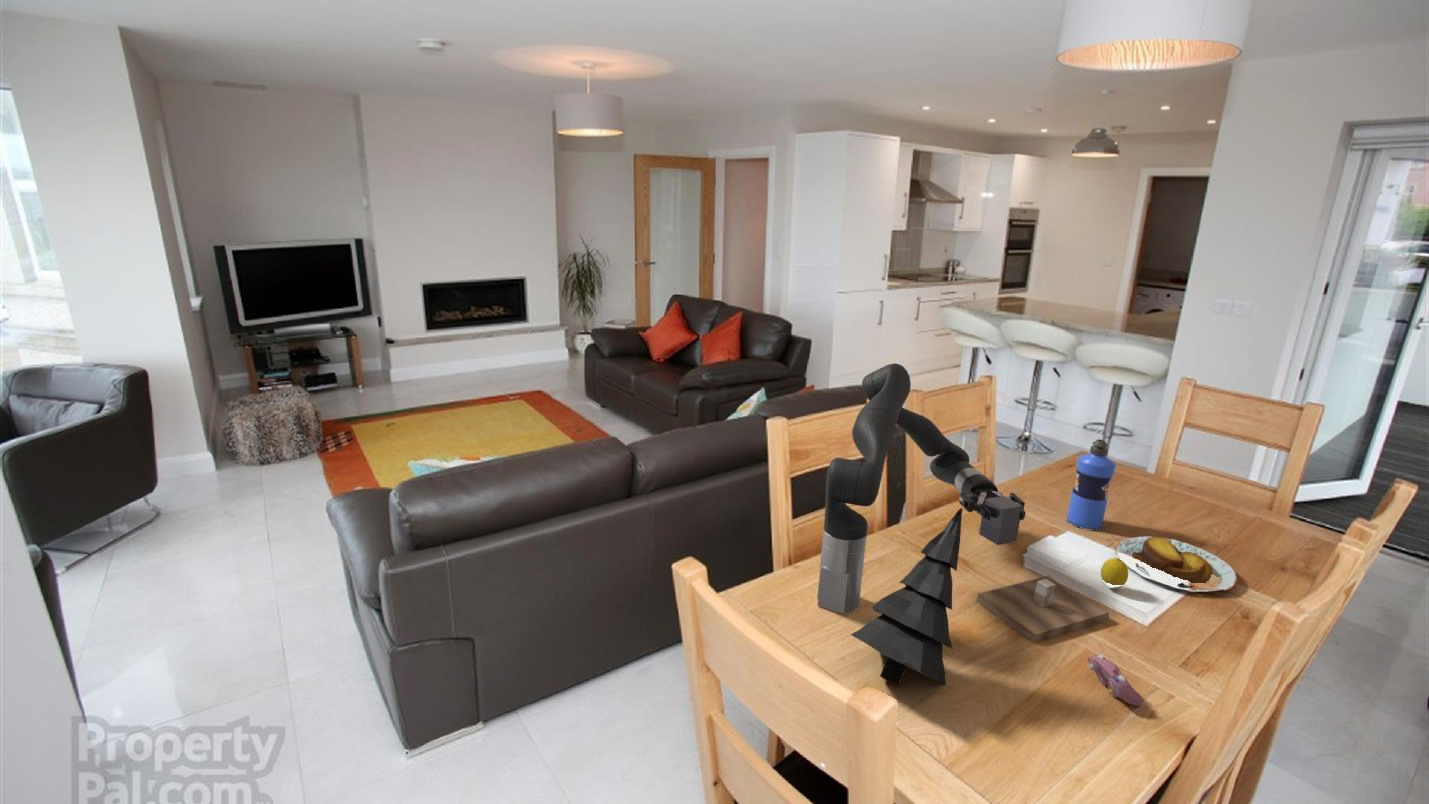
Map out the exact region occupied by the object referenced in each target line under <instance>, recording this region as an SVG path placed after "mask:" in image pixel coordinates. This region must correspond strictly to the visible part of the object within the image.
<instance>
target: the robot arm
mask: <svg viewBox="0 0 1429 804" xmlns="http://www.w3.org/2000/svg"><path fill="white" fill-rule="evenodd" d="M911 384H912V382H911V377H910V375H909V372H908V370H907V369H906V368H905V366H903V365H902V364H899V363H890V364H886V365H884V366H881V368H878V369H876V370H874V371H873V372H870V373H869V374H866V375H865V376H864V377H863V378H862V381H861V386H862V387H861V388H862V390H863V391H862V392H863V393H864V395H865V397H866V398H867V400H868V402H867V403H866V404H865V405H864V406H863V407H862V408H861V410H860V411H859V412H858V414H857V416H856V419H855V422H854V424H853V427H852V431H851V436H852V441H853V443H854V445H855V447H856V449H857V450H858V451H859V453H860V454H861V456H862V457H863V459H864V460H865V461H862V460H855V459H849V458H842V457H836V458H833V459H832V460H831V462H830V463H829V465H828V468H827V474H826V478H825V479H826V482H825V504H824V505H825V507H824V521H823V531H822V541H821V543H822V544H821V554H820V564H819V573H818V574H819V577H818V586H817V595H816V596H817V597H816V598H817V606H818V607H821V608H824V609H826V610H829V611H831V612H832V611H833V612H835V613H838V614H840V615H845V614H846V613H848V612H852V611H855V610H857V608H858V607H859V606H860V600H861V593H862V592H861V590H862V581H863V573H864V563H865V555H866V547H867V545H866V544H867V536H868V527H869V526H868V525H869V523H868V520H867V518H865V516H863V515H862V514H861V513H859V512H857V511H855V510H854V509H852V508H851V507H849V506H848V505H853V506H857V507H871V506H872V505H873V504H874V503H875V501H876V499H877V498H878V495H879V491H880V487H881V482H882V478H883V472H884V467H885V462H886V458H887V454H888V452H889V450H890V446H891V443H892V441H893V438H894V435H895V431H896V426H898V427H899V428H900V429H901V430H903V432H905V433H906V434H907V435H908V436H909V437H910V439H911V440H912V441H913V442H914V443H915V444H916V446H917V447H918V448H919V449H920V450H921V451H922V453H924V455H926V456H927V457H931V458H933V457H935V458H934V459H932V460H931V462H930V463H929V469H930V472H931V473H932V475H933V476H934V477H935V478H936V479H937V480H940V481H941V482H943V483H946V484H949V485H953V486H954V488H956V490H957V491H958V493H959V500H958V503H959V504H960V506H962V507H963V508H964V510H965V511H967V512H968V513H973V511H974V512H975V513H976V514H979V515H980V516H981V518H982V517H984V518H985V519H986V520H990V518H991V511H990V510H989V509H988V508H987V507H986V506H985V505H984V500H985V499H988V498H994V497H1000V496H1005V497H1007V498H1008V499H1010V500H1012V501H1014V502H1016V503H1018V504H1020V505H1022V506H1023V508H1022V512H1021V517H1020V521H1024V520H1025V517H1026V510H1025V505H1026V502H1025V501H1024V500H1023V499H1021V498H1020V497H1019V496H1018V495H1017V494H1016V493H1014V492H1010V493H1009V495H1004V494H1003V493H1001V492H999V490H998V487H997V486H996V484H995V483H994V482H993V481H992V480H991V479H989V478H988V477H987V476H986V475H985V474H983V473H982V472H981V471H979V470H978V469H976V468H975V467H974V466H972V464H970V456H969V454H968V452H967V451H965V450H964V449H963V448H961V447H960V446H959V445H957V444H955V443H954V442H952V441H951V440H949V439H948V438H947V437H946V436H945V434H943V432H941V430H940V429H939V428H938V426H937V425H936V424H935V423H934V422H933V421H932V420H930V418H928V417H926V416H924V415H921V414H919V413H916V412H914V411H912V410H910V409H907V408H904V407H903V406H904V404H905V403H906V401H907V399H908V396H909V395H910V392H911V387H912V386H911ZM847 504H848V505H847Z"/></svg>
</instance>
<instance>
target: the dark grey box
mask: <svg viewBox="0 0 1429 804" xmlns="http://www.w3.org/2000/svg"><path fill="white" fill-rule="evenodd" d="M1005 496H1006V495H1004V496H1000V497H994V498H988V499H985V500H984V505H985V506H986V507H987V508H988V509H989V510H990V511H991V518H990V520H986V519H985V518H984V517H982V516H981V520H980V525H979V526H980V527H979V532H978V535H980V536H981V537H983V538H984V539H986V540H988V541H990V542H992V543H993V544H995V545H997V546H1000V545H1006V544H1009V543H1014V542H1017V539H1018V536H1019V535H1018V534H1019V529H1020V522H1021V520H1020V517H1021V512H1022V508H1023V506H1022V505H1020V504H1018V503H1016V502H1014V501H1012V500H1010V499H1008V498H1007V497H1005Z"/></svg>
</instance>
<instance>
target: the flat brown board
mask: <svg viewBox="0 0 1429 804" xmlns="http://www.w3.org/2000/svg"><path fill="white" fill-rule="evenodd" d="M975 601H976V603H978V604H979V605H980V606H982V607H983V608H985V609H986V610H987V611H989V612H990V613H992V614H993V615H994V616H996V617H997V618H998V619H1000V620H1001V621H1003V623H1006V624H1007V625H1008V626H1010V627H1011V628H1013V629H1014V630H1015V631H1017V632H1018V633H1020V634H1021V635H1022V636H1024V637H1025V638H1027V639H1028V640H1029V641H1031V642H1032V643H1033V644H1035V643H1039V642H1042V641H1045V640H1048V639H1051V638H1052V639H1053V638H1055V637H1059V636H1062V635H1065V634H1067V633H1071V632H1075V631H1077V630H1081V629H1083V628H1087V627H1091V626H1094V625H1097V624H1101V623H1103V622H1107V621H1108V620H1109V615H1110V612H1109V611H1108V610H1106V609H1104V608H1103V607H1101V606H1099V605H1098V604H1096V603H1095V602H1093V601H1092V600H1090V599H1088V598H1086V597H1084V596H1082V595H1081V594H1079V593H1078V592H1076V591H1074V590H1073V589H1071V588H1069V587H1068V586H1066V585H1064V584H1063V583H1062V582H1060V581H1057V580H1056V579H1054V578H1053V577H1051V576H1049V575H1046V576H1043V577H1038V578H1035V579H1029V580H1027V581H1023V582H1018V583H1015V584H1011V585H1006V586H1003V587H999V588H995V589H991V590H988V591H983V592H979V593H977V596H976V600H975Z"/></svg>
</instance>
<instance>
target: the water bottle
mask: <svg viewBox="0 0 1429 804" xmlns="http://www.w3.org/2000/svg"><path fill="white" fill-rule="evenodd" d="M1091 444H1092V445H1090V449H1089V453H1087V454H1081V455H1079V456H1078V457H1077V460H1076V466H1075V482H1074V485H1073V487H1072V490H1071V493H1070V499H1069V503H1068V508H1067V512H1066V513H1067V514H1066V518H1065V520H1066V519H1067V520H1066V522H1067V521H1068V522H1069V523H1071V524H1073V525H1075V526H1077V527H1076V528H1078V527H1082V528H1086V529H1092V530H1091V531H1097V530H1096V529H1099V530H1101V529H1102V528H1101V527H1103V522H1104V519H1105V515H1106V514H1105V512H1106V509H1107V504H1108V498H1109V497H1108V496H1109V488H1110V484H1111V482H1112V478H1113V477H1114V475H1115V471H1116V467H1117V464H1116V462H1115V461H1114V460H1111V458H1108V457H1107V455H1108V452H1109V449H1108V448H1107V447H1109V445H1108V443H1107V442H1106V441H1105V440H1104V439H1096V440H1094V441H1093V442H1092V443H1091ZM1068 522H1067V523H1068ZM1069 523H1068V524H1069ZM1071 524H1070V525H1071ZM1073 525H1072V526H1073ZM1075 526H1074V527H1075ZM1100 528H1101V529H1100Z"/></svg>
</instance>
